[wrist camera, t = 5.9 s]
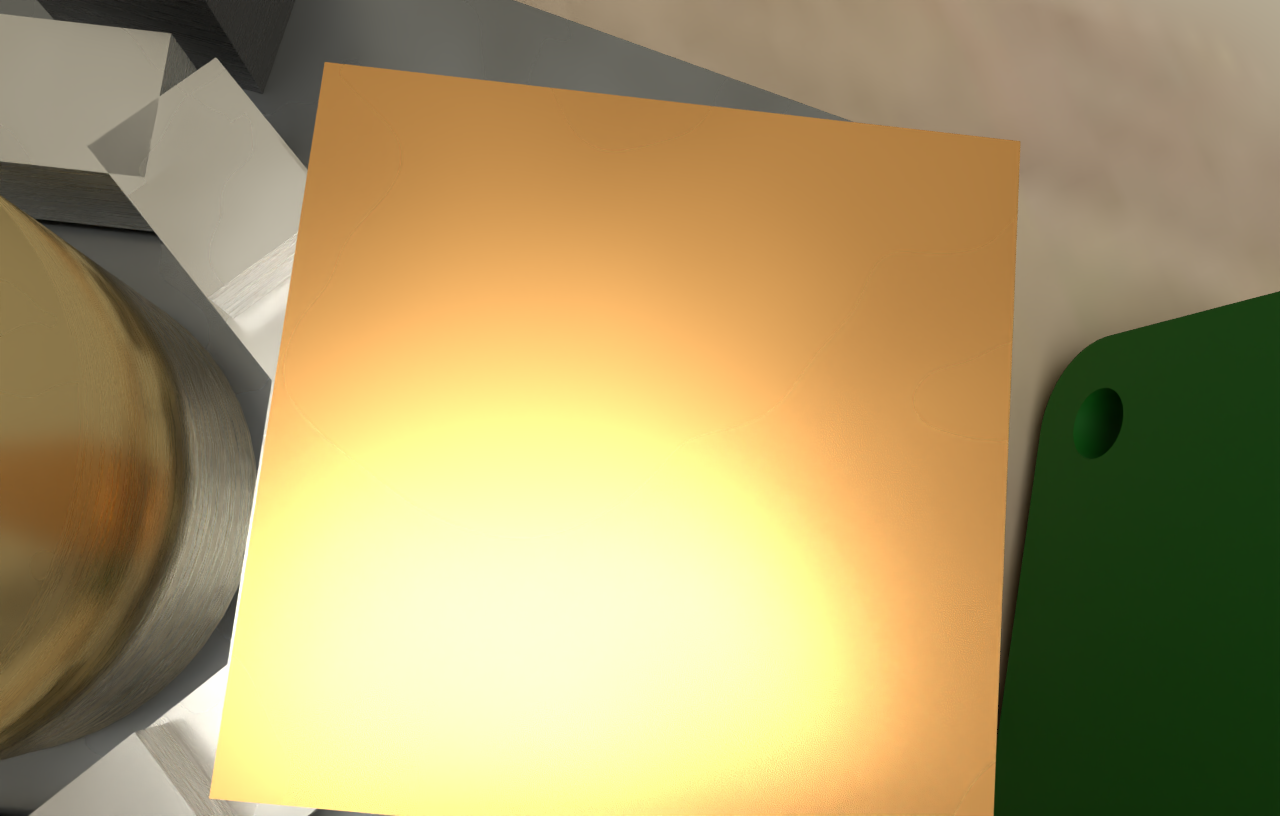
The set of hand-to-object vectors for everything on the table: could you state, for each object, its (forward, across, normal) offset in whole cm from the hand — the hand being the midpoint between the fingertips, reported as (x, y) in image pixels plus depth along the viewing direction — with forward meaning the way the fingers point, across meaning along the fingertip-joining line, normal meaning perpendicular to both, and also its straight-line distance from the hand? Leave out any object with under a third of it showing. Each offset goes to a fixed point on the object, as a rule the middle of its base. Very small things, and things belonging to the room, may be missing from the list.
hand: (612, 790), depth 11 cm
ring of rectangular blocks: (+6, +6, 0) cm, 9 cm away
